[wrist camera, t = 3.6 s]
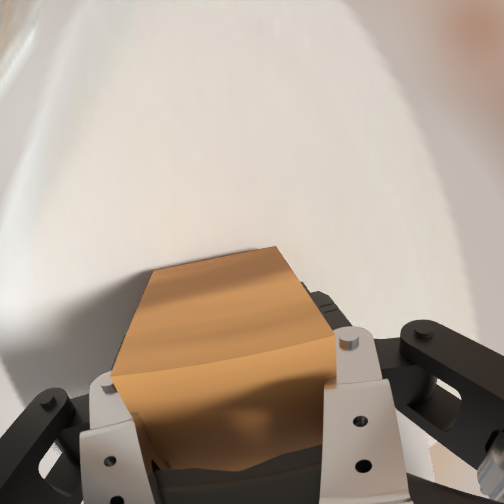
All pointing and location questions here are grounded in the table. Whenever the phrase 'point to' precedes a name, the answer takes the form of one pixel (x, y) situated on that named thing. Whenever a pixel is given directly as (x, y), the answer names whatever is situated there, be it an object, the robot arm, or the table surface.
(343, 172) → the table surface
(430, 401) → the robot arm
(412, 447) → the flask
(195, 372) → the orange block
